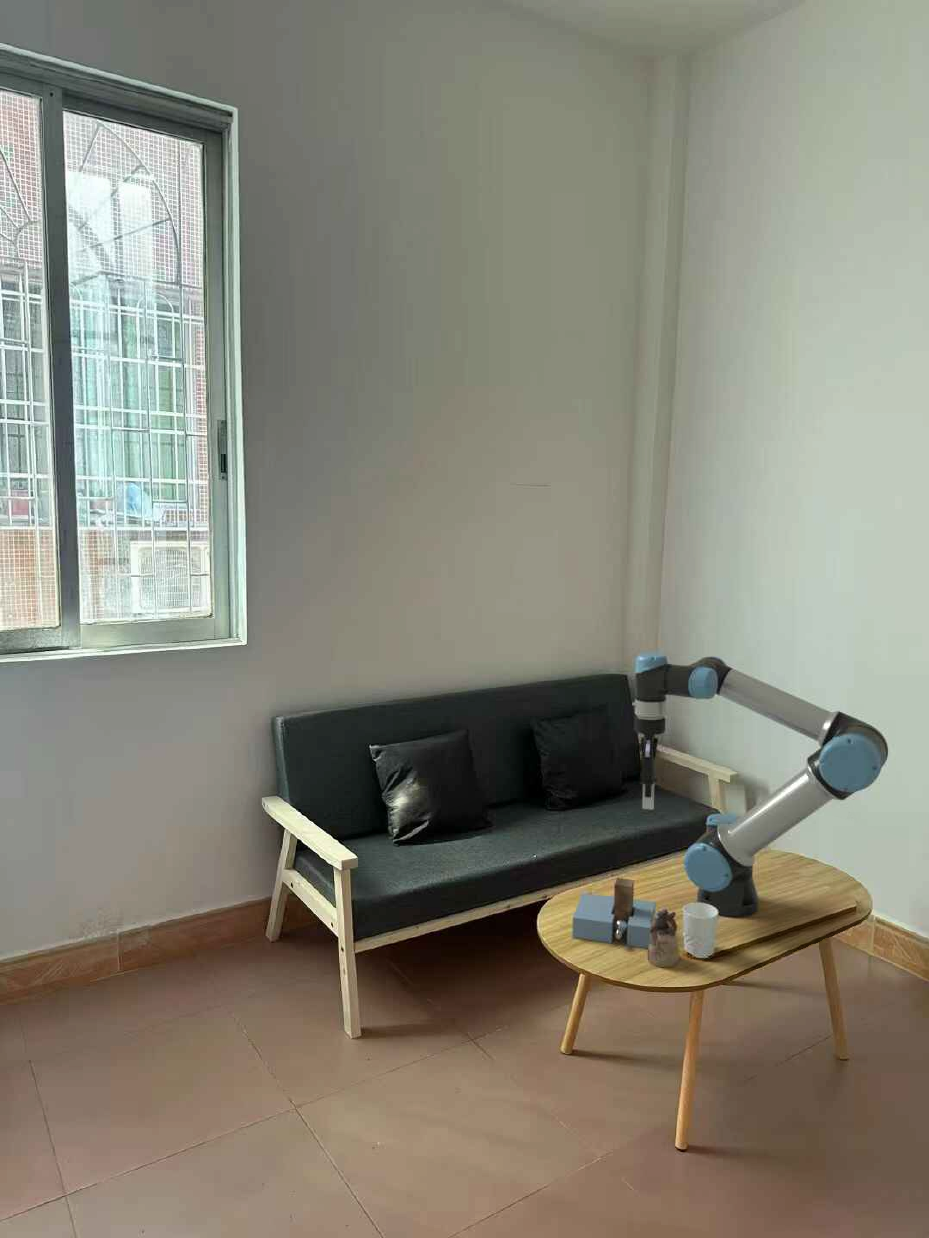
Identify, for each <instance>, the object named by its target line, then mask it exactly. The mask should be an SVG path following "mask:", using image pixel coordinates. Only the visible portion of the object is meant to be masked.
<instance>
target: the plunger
mask: <svg viewBox="0 0 929 1238" xmlns="http://www.w3.org/2000/svg"><path fill="white" fill-rule="evenodd" d="M615 929H616V932H615V934H614V937H615V938H616V939H617V940H621V939H622V936H623V934H622V933H624V932H625V931H626V930H627V923H626V922H625V921H624V920H618V921H616V923H615Z"/></svg>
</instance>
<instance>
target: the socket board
mask: <svg viewBox="0 0 929 1238" xmlns="http://www.w3.org/2000/svg"><path fill="white" fill-rule="evenodd" d="M655 913H656V901H652V900H651V901H650V900H642V899H634V898H633V917H629V921H628V925H627V934H626V945H627V946H628V947H629V946H630V947H637V948H645V949H648V947H649V942H650V936H651V934H652V933H651V932H650V928H651V923H650V920H652V919H653V916H654V914H655ZM614 937H615V932H614V896H611V895H603V894H596V893H595V894H594V893H587V892H582V893H581V896H580V899H579V901H578V904H577V907H576V908H575V912H574V914H573V916H572V938H573V939H580V940H587V941H588V940H589V941H592V942H593V941H594V942H600V943H601V942H603V943H609V944H613V943H612V942H613V939H614Z"/></svg>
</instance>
